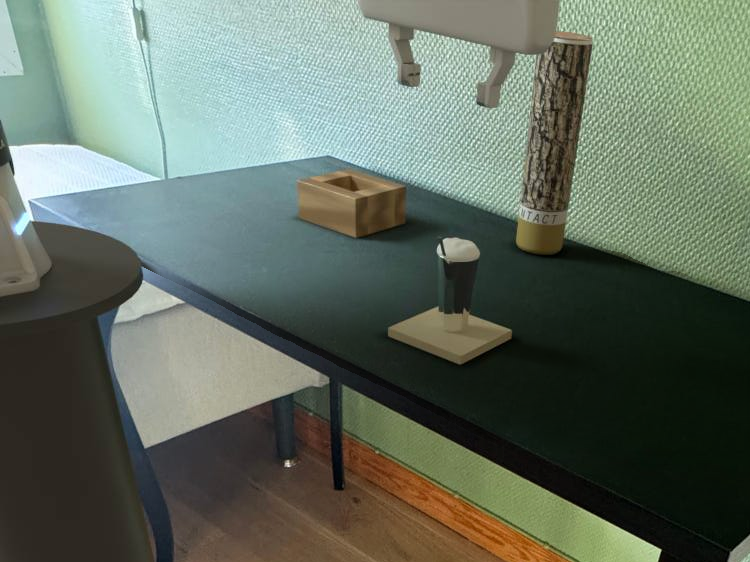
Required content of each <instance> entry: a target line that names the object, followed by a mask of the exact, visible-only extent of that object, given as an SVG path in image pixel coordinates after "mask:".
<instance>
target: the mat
mask: <svg viewBox="0 0 750 562" xmlns="http://www.w3.org/2000/svg"><path fill="white" fill-rule="evenodd" d="M512 335H513V329H511V328H507V327H505V326H502V325H499V324H496V323H495V322H494V323H493V322H491V321H489V320H485V319H483V318H480V317H477V316H474V315H472V314H469V319H468V326H467V330H466V331H463V332H461V333H451V332H447V331H443V330H442V329H441V328H440V327H439V305H437V306H435V307H434V308H431V309H429V310H427V311H424V312H422V313H419V314H417V315H415V316H412V317H410V318H408V319H405V320H403V321H399V322H398V323H395V324H393V325H391V326H389V327H388V328H387V337H389V338H391V339H394V340H397V341H399V342H401V343H404V344H407V345H409V346H411V347H414V348H417V349H419V350H421V351H424V352H426V353H429V354H431V355H434V356H436V357H439V358H442V359H445V360H447V361H449V362H452V363H454V364H457V365H459V366H460V365H463V364H465V363H466V362H468V361H470V360H473V359H474V358H476V357H478V356H480V355H482V354H484V353H486V352H488V351H490V350H492V349H494V348H495V347H498V346H500V345H501V344H503V343H506V342H507V341H509V340H511V339H512Z"/></svg>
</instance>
